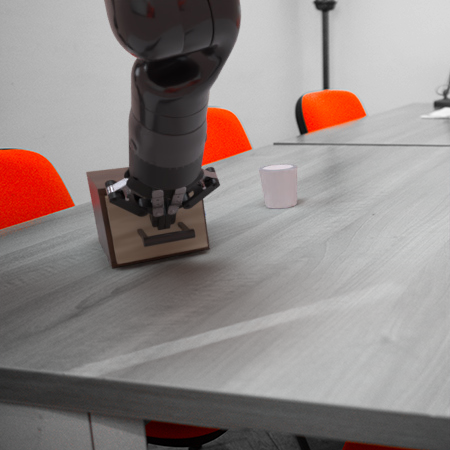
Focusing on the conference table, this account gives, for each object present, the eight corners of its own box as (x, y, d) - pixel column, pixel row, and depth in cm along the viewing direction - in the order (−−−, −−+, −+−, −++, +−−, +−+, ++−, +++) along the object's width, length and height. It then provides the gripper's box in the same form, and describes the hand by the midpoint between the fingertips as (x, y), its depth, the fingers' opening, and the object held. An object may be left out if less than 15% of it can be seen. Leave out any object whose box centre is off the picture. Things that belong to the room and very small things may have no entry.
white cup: (308, 203, 105) (305, 165, 103) (278, 211, 100) (274, 172, 98) (284, 198, 109) (280, 162, 107) (254, 206, 104) (250, 168, 102)
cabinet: (209, 249, 81) (200, 175, 78) (112, 268, 74) (97, 188, 71) (185, 226, 93) (176, 161, 90) (99, 241, 86) (85, 171, 83)
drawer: (220, 258, 74) (212, 192, 71) (125, 278, 68) (112, 207, 65) (184, 225, 90) (176, 170, 87) (104, 239, 84) (93, 180, 81)
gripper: (220, 106, 65) (205, 192, 79) (90, 116, 58) (99, 208, 72) (240, 157, 62) (221, 238, 76) (106, 174, 56) (112, 259, 69)
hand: (161, 223), depth 74 cm, fingers closed
